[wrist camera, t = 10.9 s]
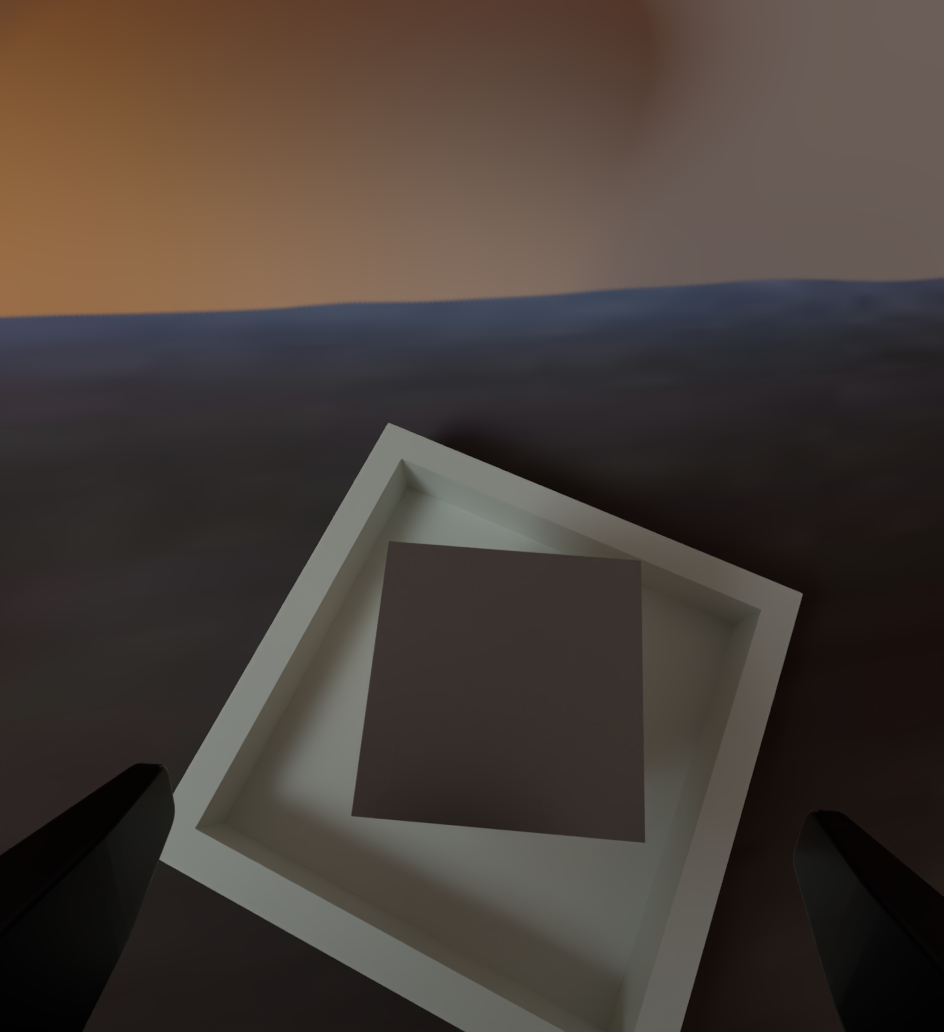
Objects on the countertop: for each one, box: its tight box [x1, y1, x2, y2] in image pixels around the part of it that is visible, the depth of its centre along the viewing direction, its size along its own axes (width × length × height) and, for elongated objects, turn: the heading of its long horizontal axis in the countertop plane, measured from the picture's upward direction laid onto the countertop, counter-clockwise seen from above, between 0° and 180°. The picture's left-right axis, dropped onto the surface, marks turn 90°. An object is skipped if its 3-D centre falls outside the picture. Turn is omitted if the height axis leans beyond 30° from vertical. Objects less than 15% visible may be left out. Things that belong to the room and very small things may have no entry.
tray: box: [159, 423, 803, 1032], centre depth 20 cm, size 14×14×3 cm
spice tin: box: [351, 541, 645, 843], centre depth 16 cm, size 5×5×9 cm
